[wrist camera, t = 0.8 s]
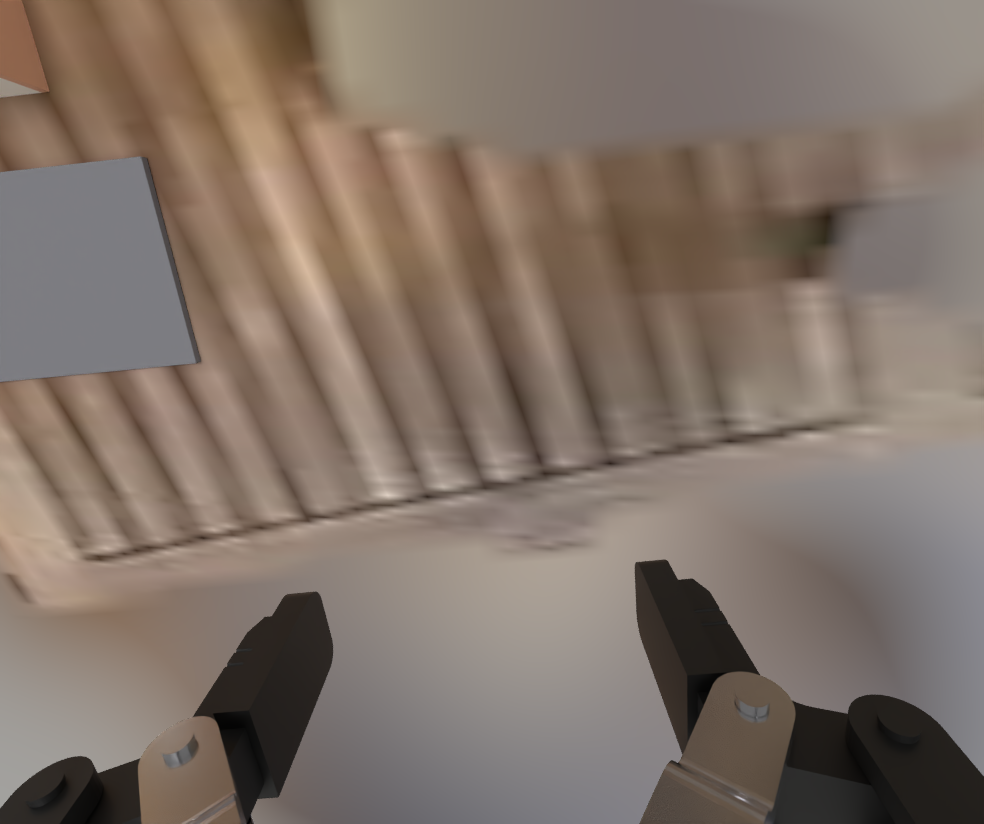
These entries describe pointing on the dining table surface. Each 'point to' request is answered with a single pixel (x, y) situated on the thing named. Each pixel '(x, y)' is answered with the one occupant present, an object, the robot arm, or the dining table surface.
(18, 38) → the white block copper side
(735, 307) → the dining table surface
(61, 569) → the dining table surface
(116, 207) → the mat
